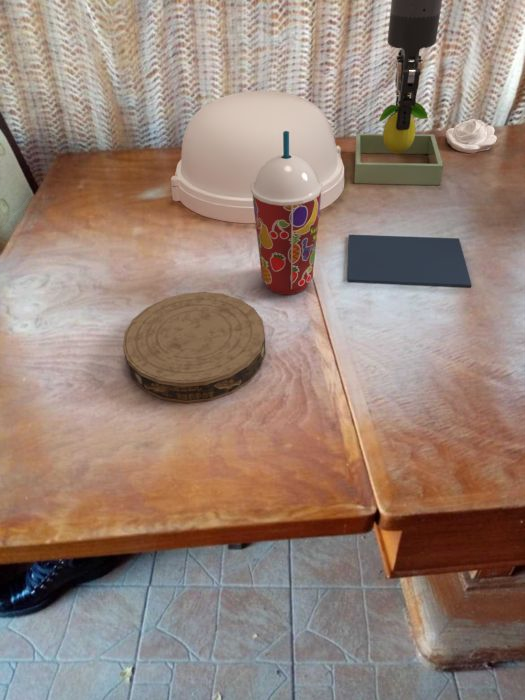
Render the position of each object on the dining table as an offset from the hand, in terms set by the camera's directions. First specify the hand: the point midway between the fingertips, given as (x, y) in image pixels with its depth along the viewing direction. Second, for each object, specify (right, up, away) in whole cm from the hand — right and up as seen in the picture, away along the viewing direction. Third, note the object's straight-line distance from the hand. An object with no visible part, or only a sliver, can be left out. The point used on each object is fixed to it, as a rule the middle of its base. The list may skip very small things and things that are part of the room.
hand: (401, 123), depth 94 cm
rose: (+17, +1, +12) cm, 21 cm away
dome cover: (-25, -10, +2) cm, 27 cm away
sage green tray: (0, -6, +5) cm, 8 cm away
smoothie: (-21, -31, -21) cm, 43 cm away
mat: (-4, -27, -18) cm, 33 cm away
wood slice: (-32, -40, -31) cm, 60 cm away
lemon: (0, -4, +4) cm, 6 cm away
